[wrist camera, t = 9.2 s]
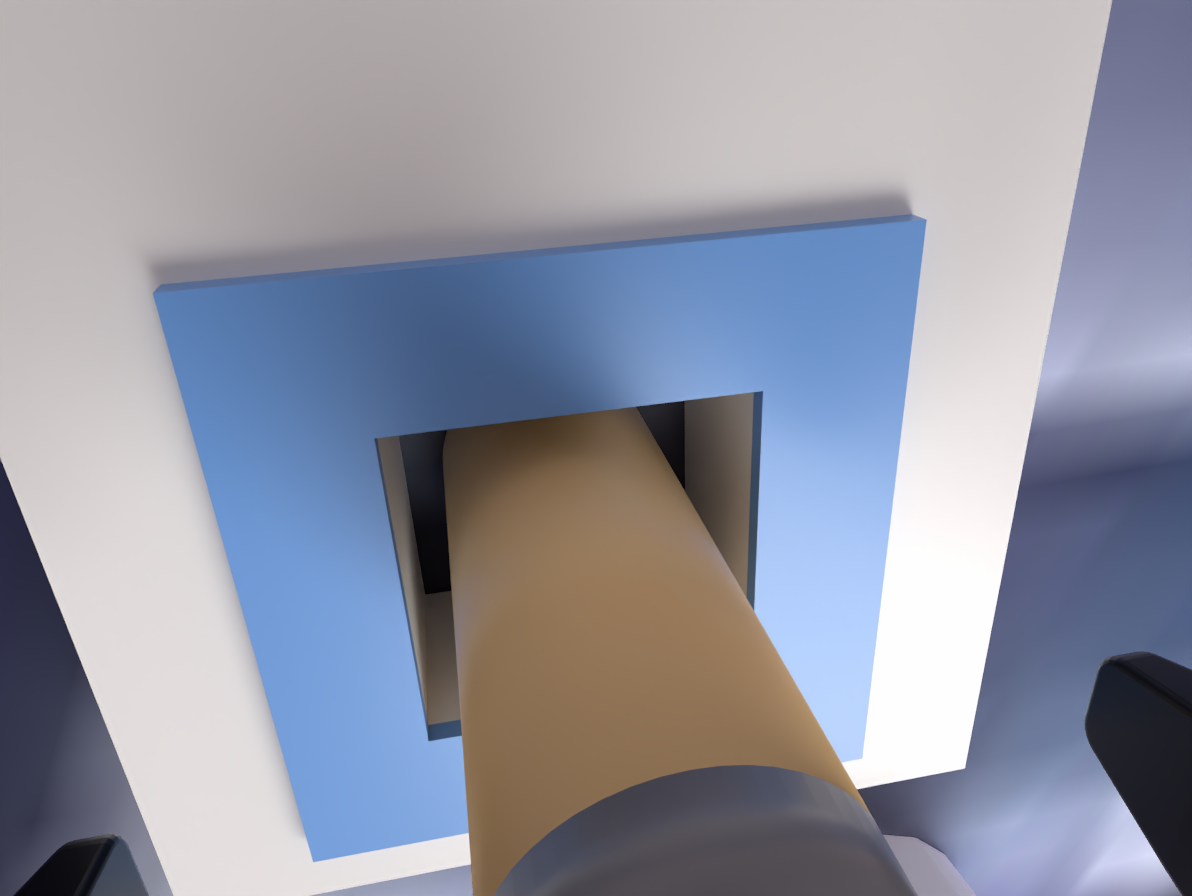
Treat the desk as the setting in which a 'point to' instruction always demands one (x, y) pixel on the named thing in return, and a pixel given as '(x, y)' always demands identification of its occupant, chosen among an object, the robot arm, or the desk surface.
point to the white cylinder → (927, 868)
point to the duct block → (510, 357)
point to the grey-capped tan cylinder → (628, 686)
